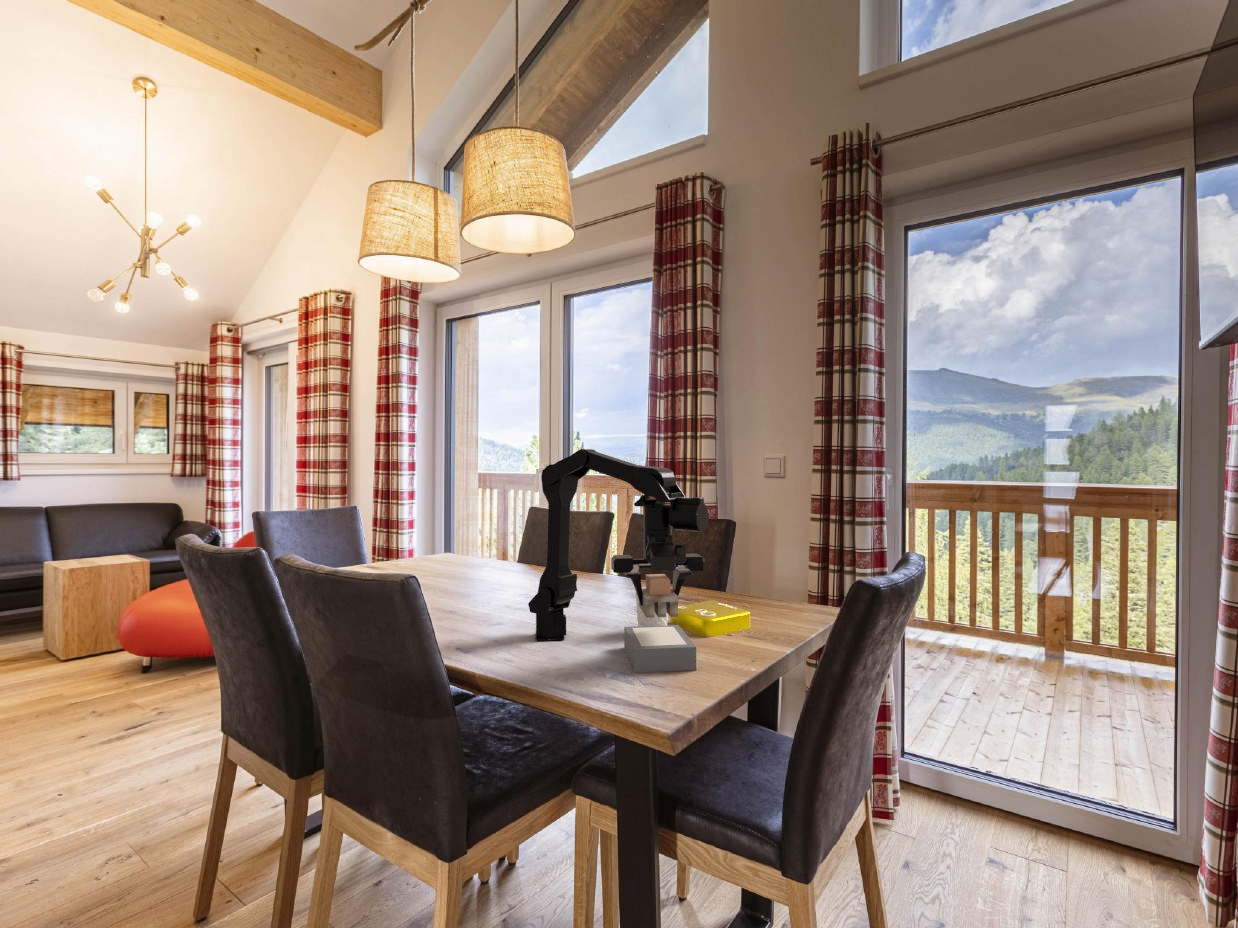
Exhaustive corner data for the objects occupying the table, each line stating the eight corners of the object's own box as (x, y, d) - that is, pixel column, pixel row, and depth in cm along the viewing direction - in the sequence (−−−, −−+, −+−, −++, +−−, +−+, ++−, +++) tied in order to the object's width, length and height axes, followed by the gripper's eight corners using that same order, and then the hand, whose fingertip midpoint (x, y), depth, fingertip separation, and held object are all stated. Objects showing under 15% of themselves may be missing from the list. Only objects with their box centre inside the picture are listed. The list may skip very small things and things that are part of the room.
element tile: (754, 629, 150) (754, 609, 150) (707, 639, 142) (707, 618, 142) (712, 616, 163) (712, 598, 163) (667, 624, 155) (667, 605, 155)
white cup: (657, 640, 140) (657, 596, 140) (629, 634, 145) (629, 591, 145) (675, 632, 146) (675, 590, 146) (648, 626, 151) (648, 586, 151)
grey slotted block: (646, 617, 122) (646, 597, 122) (638, 605, 132) (638, 586, 132) (678, 616, 123) (678, 596, 123) (668, 604, 133) (668, 586, 133)
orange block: (650, 594, 124) (650, 579, 124) (645, 588, 130) (645, 574, 130) (670, 594, 125) (670, 579, 125) (664, 588, 131) (664, 573, 131)
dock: (635, 672, 119) (634, 648, 119) (624, 647, 135) (624, 626, 135) (696, 669, 120) (696, 646, 120) (678, 645, 136) (678, 624, 136)
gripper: (616, 534, 118) (617, 616, 118) (712, 532, 120) (712, 613, 121) (610, 528, 129) (610, 602, 129) (698, 526, 131) (698, 600, 132)
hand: (657, 604), depth 127 cm, fingers closed on grey slotted block, 6 cm apart
